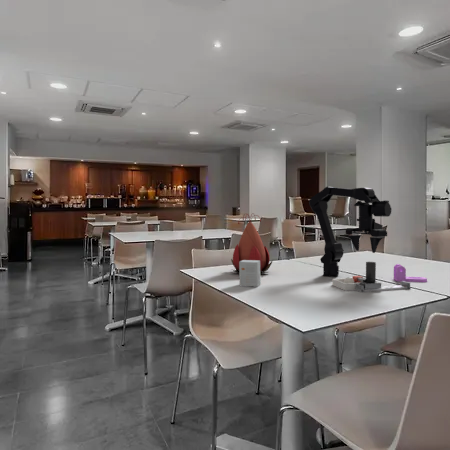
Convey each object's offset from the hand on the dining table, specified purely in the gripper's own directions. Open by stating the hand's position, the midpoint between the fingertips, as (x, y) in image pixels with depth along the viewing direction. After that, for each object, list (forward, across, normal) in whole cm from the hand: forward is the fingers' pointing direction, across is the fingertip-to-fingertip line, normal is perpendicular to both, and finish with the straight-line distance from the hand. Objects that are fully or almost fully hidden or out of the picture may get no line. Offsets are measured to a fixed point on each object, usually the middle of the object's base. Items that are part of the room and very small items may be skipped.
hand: (365, 251), depth 165 cm
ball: (+11, -5, +15) cm, 19 cm away
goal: (+13, -5, +15) cm, 21 cm away
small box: (+13, +17, +49) cm, 54 cm away
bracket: (+14, -9, -18) cm, 24 cm away
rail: (+13, -15, +6) cm, 21 cm away
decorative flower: (+13, +42, +34) cm, 56 cm away
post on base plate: (+13, -10, +11) cm, 20 cm away
